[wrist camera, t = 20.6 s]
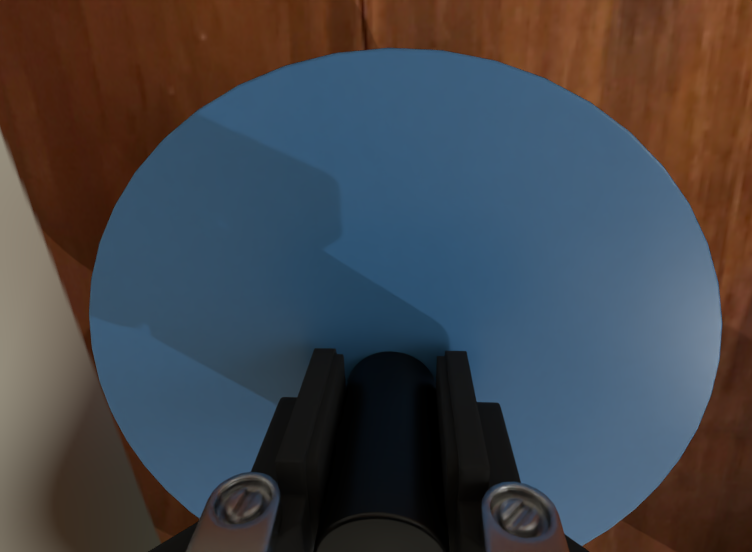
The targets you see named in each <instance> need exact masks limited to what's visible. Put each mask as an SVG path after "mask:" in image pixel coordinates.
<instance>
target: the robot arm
mask: <svg viewBox="0 0 752 552" xmlns="http://www.w3.org/2000/svg"><path fill="white" fill-rule="evenodd" d="M345 392H346V385H345V367H344V355H343V354H337V352H336V349H333V348H315V349H314V351H313V354H312V357H311V359H310V362H309V365H308V368H307V371H306V374H305V377H304V380H303V382H302V385H301V388H300V391H299V394H298V397H282V398H281V399H280V401H279V402H278V405H277V407H276V410H275V412H274V415H273V417H272V420H271V422H270V425H269V427H268V430H267V432H266V435H265V437H264V440H263V442H262V445H261V447H260V450H259V452H258V455H257V457H256V460H255V462H254V465H253V467H252V470H251V472H246V473H240V474H238V475H235V476H232V477H230V478H228V479H227V480H225V481H223V482H222V483H220V484H219V485H218V486H217V487H216V488H215V489H214V490H213V492H212V493H211V495H210V497H209V498H208V500H207V502H206V505H205V507H204V510H203V512H202V514H201V517H200V519H199V521H198V522H197V523H195V524H194V525H192V526H190V527H189V528H187V529H185V530H184V531H182V532H180V533H179V534H177V535H175V536H174V537H172V538H170V539H169V540H167V541H165V542H164V543H162V544H160V545H159V546H157V547H156V548H154V549H152V550H150V551H149V552H313V550H314V544H315V539H316V535H317V530H318V525H319V520H320V515H321V510H322V505H323V500H324V495H325V490H326V485H327V480H328V475H329V471H330V466H331V461H332V456H333V451H334V446H335V441H336V436H337V431H338V426H339V421H340V416H341V411H342V407H343V402H344V397H345ZM436 401H437V414H438V427H439V440H440V452H441V465H442V478H443V491H444V503H445V515H446V519H447V526H448V538H449V550H450V552H589V551H588V550H586V549H585V548H584V547H582V546H581V545H579V544H578V543H576V542H575V541H574V540H572V539H571V538H569V537H568V536H567V535H565V534H564V531H563V527H562V523H561V520H560V516H559V513H558V511H557V509H556V507H555V505H554V504H553V502H552V501H551V500H550V499H549V498H548V497H547V495H545V494H544V493H542V492H541V491H540V490H538V489H537V488H534V487H532V486H530V485H528V484H525V483H521V480H520V477H519V473H518V469H517V465H516V462H515V458H514V454H513V451H512V447H511V443H510V439H509V436H508V432H507V428H506V425H505V421H504V417H503V413H502V410H501V407H500V404H499V403H497V402H477V401H476V396H475V391H474V386H473V381H472V376H471V371H470V366H469V361H468V356H467V352H466V351H445V356H437V364H436Z"/></svg>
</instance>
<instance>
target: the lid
mask: <svg viewBox="0 0 752 552" xmlns="http://www.w3.org/2000/svg"><path fill="white" fill-rule="evenodd" d="M89 320H90V332H91V344H92V351H93V355H94V360H95V364H96V368H97V372H98V377H99V381H100V384H101V386H102V389H103V391H104V394H105V397H106V399H107V402H108V405H109V407H110V410H111V412H112V414H113V416H114V418H115V420H116V421H117V423H118V425H119V427H120V429H121V431H122V433H123V434H124V436H125V438H126V440H127V441H128V443H129V444H130V446H131V447H132V449H133V450H134V451H135V453H136V454H137V456H138V457H139V458H140V460H141V461H142V463H143V464H144V466H145V467H146V468H147V469H148V470H149V471H150V472H151V474H152V475H153V476H154V477H155V478H156V479H157V480H158V481H159V483H160V484H161V485H162V486H163V487H164V488H165V489H166V490H167V491H168V492H169V493H170V494H171V495H172V496H173V497H174V498H176V499H177V500H178V501H179V502H180V503H181V504H182V505H183V506H184V507H186V508H187V509H188V510H189V511H190V512H191V513H193V514H194V515H195V516H197V517H198V518H200V517H201V514H202V512H203V510H204V507H205V505H206V502H207V500H208V498H209V497H210V495H211V493H212V492H213V490H214V489H215V488H216V487H217V486H218V485H219V484H220V483H222V482H223V481H225V480H227V479H228V478H230V477H232V476H235V475H238V474H240V473H246V472H251V470H252V467H253V465H254V462H255V460H256V457H257V455H258V452H259V450H260V447H261V445H262V442H263V440H264V437H265V435H266V432H267V430H268V427H269V425H270V422H271V420H272V417H273V415H274V412H275V410H276V407H277V405H278V402H279V401H280V399H281V398H282V397H298V394H299V391H300V388H301V385H302V382H303V380H304V377H305V374H306V371H307V368H308V365H309V362H310V359H311V357H312V354H313V351H314V349H315V348H333V349H336V352H337V354H343V355H344V367H345V385H346V392H345V397H344V402H343V407H342V411H341V416H340V421H339V426H338V431H337V436H336V441H335V446H334V451H333V456H332V461H331V466H330V471H329V475H328V480H327V485H326V490H325V495H324V500H323V505H322V510H321V515H320V520H319V525H318V530H317V535H316V539H315V544H314V550H313V552H450V550H449V538H448V526H447V519H446V515H445V503H444V491H443V478H442V465H441V452H440V440H439V427H438V414H437V401H436V364H437V356H445V351H466V352H467V356H468V361H469V366H470V371H471V376H472V381H473V386H474V391H475V396H476V401H477V402H497V403H499V404H500V407H501V410H502V413H503V417H504V421H505V425H506V428H507V432H508V436H509V439H510V443H511V447H512V451H513V454H514V458H515V462H516V465H517V469H518V473H519V477H520V480H521V483H525V484H528V485H530V486H532V487H534V488H537V489H538V490H540V491H541V492H542V493H544V494H545V495H547V497H548V498H549V499H550V500H551V501H552V502H553V504H554V505H555V507H556V509H557V511H558V513H559V516H560V520H561V523H562V527H563V531H564V534H565V535H567V536H568V537H569V538H571V539H572V540H574V541H575V542H576V543H578V544H579V545H581V546H583V545H584V544H586V543H588V542H589V541H591V540H592V539H594V538H596V537H597V536H599V535H601V534H602V533H604V532H605V531H607V530H609V529H610V528H611V527H613V526H614V525H615V524H616V523H618V522H619V521H620V520H622V519H623V518H624V517H625V516H627V515H628V514H629V513H631V512H632V511H633V510H634V509H636V508H637V507H638V506H639V505H640V504H641V503H642V502H643V501H644V500H645V499H646V498H647V497H648V496H649V495H650V494H651V493H652V492H653V491H654V490H655V489H656V488H657V487H658V486H659V485H660V483H661V482H662V481H663V480H664V478H665V477H666V476H667V475H668V473H669V472H670V471H671V469H672V468H673V467H674V466H675V464H676V463H677V462H678V461H679V459H680V458H681V456H682V454H683V453H684V451H685V449H686V448H687V446H688V444H689V443H690V441H691V439H692V437H693V436H694V434H695V432H696V431H697V429H698V427H699V424H700V422H701V419H702V417H703V414H704V412H705V409H706V407H707V404H708V402H709V400H710V397H711V394H712V390H713V386H714V381H715V377H716V373H717V369H718V364H719V360H720V347H721V333H722V314H721V304H720V293H719V283H718V280H717V276H716V272H715V269H714V265H713V261H712V258H711V254H710V250H709V246H708V243H707V241H706V239H705V236H704V234H703V232H702V230H701V228H700V226H699V224H698V221H697V219H696V217H695V215H694V213H693V211H692V208H691V206H690V204H689V203H688V201H687V200H686V198H685V197H684V195H683V194H682V192H681V191H680V190H679V188H678V187H677V185H676V184H675V182H674V181H673V179H672V178H671V176H670V175H669V174H668V172H667V171H666V169H665V168H664V166H663V165H662V164H661V163H660V162H659V161H658V160H657V159H656V158H655V157H654V156H653V155H652V154H651V153H650V152H649V151H648V150H647V149H646V148H645V147H644V146H643V145H642V144H641V143H640V142H639V141H638V139H637V138H636V137H635V136H634V135H633V134H632V133H631V132H629V131H628V130H627V129H625V128H624V127H623V126H621V125H620V124H619V123H617V122H616V121H615V120H613V119H612V118H611V117H610V116H608V115H607V114H606V113H604V112H603V111H602V110H600V109H599V108H598V107H596V106H595V105H594V104H592V103H591V102H589V101H587V100H585V99H583V98H581V97H580V96H578V95H576V94H574V93H572V92H570V91H568V90H566V89H565V88H563V87H561V86H559V85H557V84H555V83H553V82H551V81H550V80H548V79H546V78H543V77H540V76H538V75H535V74H532V73H529V72H526V71H523V70H521V69H518V68H515V67H512V66H509V65H506V64H504V63H501V62H498V61H495V60H490V59H485V58H480V57H475V56H469V55H464V54H459V53H454V52H449V51H444V50H427V49H405V48H381V49H371V50H360V51H350V52H340V53H333V54H329V55H325V56H321V57H317V58H313V59H309V60H305V61H301V62H297V63H293V64H289V65H285V66H283V67H281V68H278V69H276V70H273V71H271V72H269V73H266V74H264V75H261V76H259V77H256V78H254V79H252V80H249V81H247V82H244V83H242V84H240V85H238V86H236V87H235V88H233V89H231V90H230V91H228V92H226V93H225V94H223V95H221V96H220V97H218V98H216V99H215V100H213V101H212V102H210V103H208V104H207V105H205V106H203V107H202V108H200V109H198V110H197V111H196V112H195V113H194V114H192V115H191V116H190V117H189V118H188V119H187V120H185V121H184V122H183V123H182V124H181V125H179V126H178V127H177V128H176V129H175V130H173V131H172V132H171V133H170V134H169V135H168V136H166V137H165V138H164V139H163V140H162V141H161V143H160V144H159V145H158V146H157V147H156V148H155V149H154V151H153V152H152V153H151V154H150V155H149V156H148V158H147V159H146V160H145V161H144V162H143V163H142V165H141V166H140V167H139V168H138V169H137V170H136V172H135V173H134V175H133V177H132V178H131V180H130V182H129V183H128V185H127V186H126V188H125V190H124V191H123V193H122V195H121V196H120V198H119V200H118V201H117V203H116V204H115V206H114V209H113V211H112V214H111V216H110V218H109V221H108V223H107V226H106V228H105V231H104V233H103V236H102V238H101V241H100V243H99V248H98V252H97V256H96V261H95V265H94V270H93V274H92V278H91V292H90V307H89Z"/></svg>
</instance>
